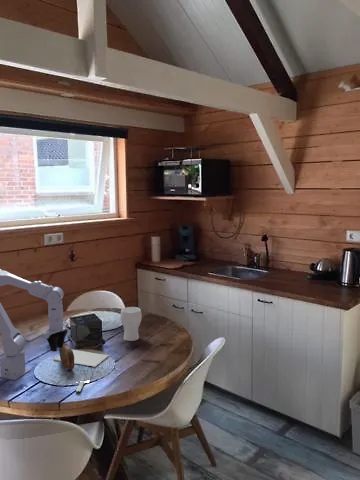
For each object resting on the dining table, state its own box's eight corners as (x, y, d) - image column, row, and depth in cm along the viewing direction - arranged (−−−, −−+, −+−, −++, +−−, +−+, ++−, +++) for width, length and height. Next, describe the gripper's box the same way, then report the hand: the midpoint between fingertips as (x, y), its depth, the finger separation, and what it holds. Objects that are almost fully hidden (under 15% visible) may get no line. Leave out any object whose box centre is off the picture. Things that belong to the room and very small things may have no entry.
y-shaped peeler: (84, 393, 158) (84, 391, 158) (71, 393, 158) (71, 391, 158) (93, 373, 175) (93, 371, 175) (81, 373, 175) (81, 371, 175)
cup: (143, 334, 218) (143, 306, 215) (139, 342, 207) (139, 313, 205) (123, 334, 219) (123, 306, 216) (118, 341, 208) (118, 312, 206)
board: (95, 367, 180) (95, 366, 180) (53, 360, 186) (53, 359, 186) (108, 356, 191) (108, 355, 191) (69, 350, 198) (68, 349, 198)
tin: (59, 358, 187) (57, 341, 185) (66, 356, 188) (64, 339, 186) (69, 373, 174) (67, 355, 172) (76, 371, 176) (74, 353, 174)
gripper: (53, 324, 163) (54, 357, 165) (74, 313, 177) (75, 343, 179) (38, 322, 165) (39, 354, 167) (60, 311, 179) (61, 341, 181)
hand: (57, 349), depth 173 cm, fingers open, 4 cm apart
